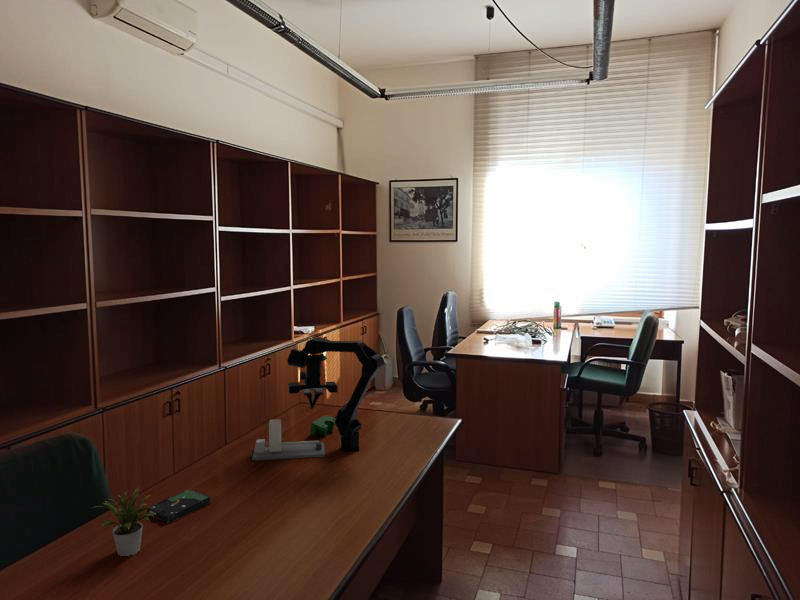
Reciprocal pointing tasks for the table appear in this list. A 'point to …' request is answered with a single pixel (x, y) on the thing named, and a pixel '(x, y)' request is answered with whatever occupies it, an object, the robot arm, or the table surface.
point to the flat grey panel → (289, 450)
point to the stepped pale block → (275, 435)
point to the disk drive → (179, 505)
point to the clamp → (322, 425)
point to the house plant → (128, 524)
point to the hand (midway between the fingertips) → (311, 408)
